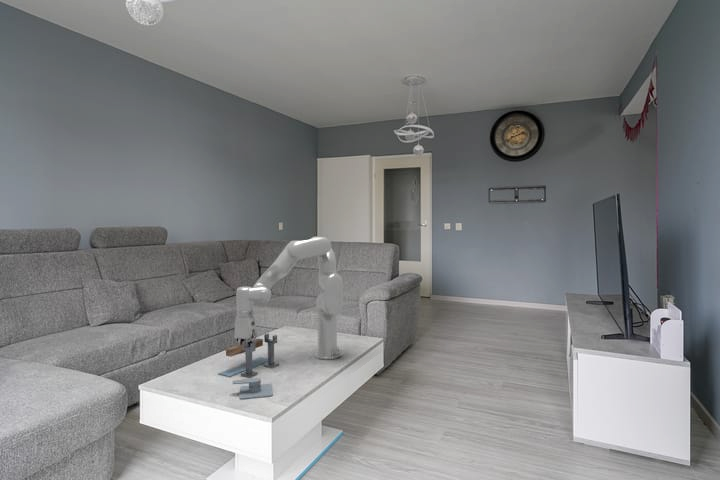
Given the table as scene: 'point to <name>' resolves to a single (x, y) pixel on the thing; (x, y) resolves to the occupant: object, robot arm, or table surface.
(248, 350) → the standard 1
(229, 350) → the rail
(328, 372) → the table surface
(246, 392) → the shower valve
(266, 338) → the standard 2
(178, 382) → the table surface
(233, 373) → the mat
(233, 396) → the table surface
